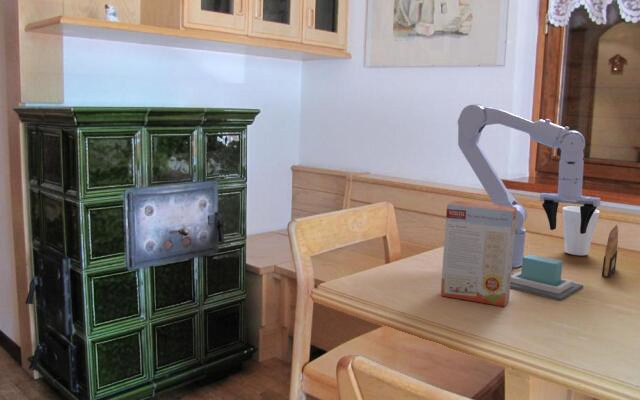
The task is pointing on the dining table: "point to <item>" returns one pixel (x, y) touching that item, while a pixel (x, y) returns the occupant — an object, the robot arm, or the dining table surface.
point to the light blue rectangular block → (541, 270)
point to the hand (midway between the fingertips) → (567, 231)
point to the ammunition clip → (610, 253)
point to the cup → (577, 231)
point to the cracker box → (478, 252)
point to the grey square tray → (544, 287)
